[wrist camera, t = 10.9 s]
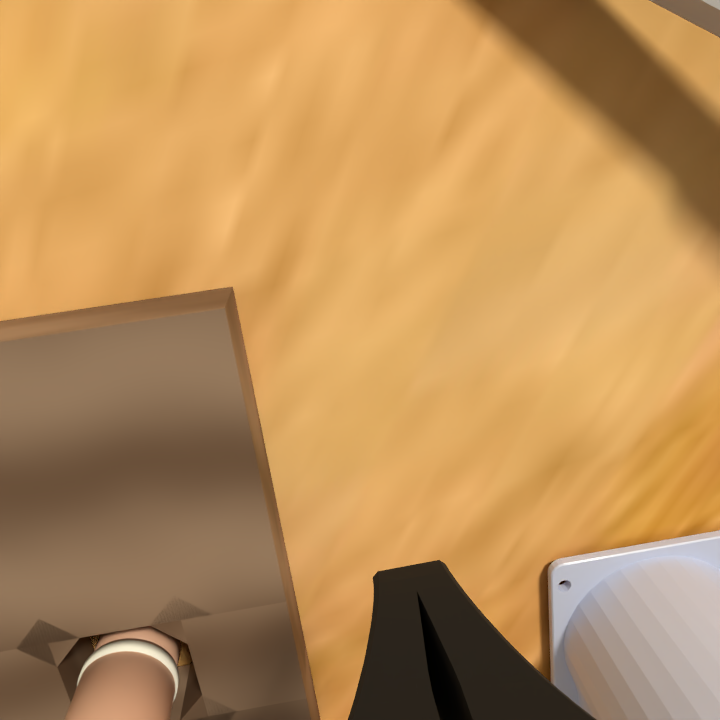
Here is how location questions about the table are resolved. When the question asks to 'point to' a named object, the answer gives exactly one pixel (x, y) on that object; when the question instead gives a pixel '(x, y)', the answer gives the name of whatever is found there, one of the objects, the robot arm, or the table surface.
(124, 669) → the peg
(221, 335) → the board
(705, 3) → the caliper
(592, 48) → the table surface
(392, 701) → the robot arm
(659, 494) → the table surface
